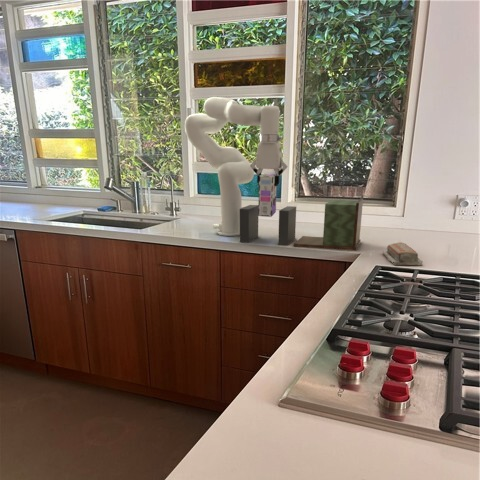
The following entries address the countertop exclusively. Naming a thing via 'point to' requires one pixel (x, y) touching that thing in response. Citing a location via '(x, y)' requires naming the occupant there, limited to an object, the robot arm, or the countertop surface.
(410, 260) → the butter dish
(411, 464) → the countertop surface
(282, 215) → the grey rectangular blocks
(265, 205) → the candy box
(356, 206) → the green zigzag bookend
